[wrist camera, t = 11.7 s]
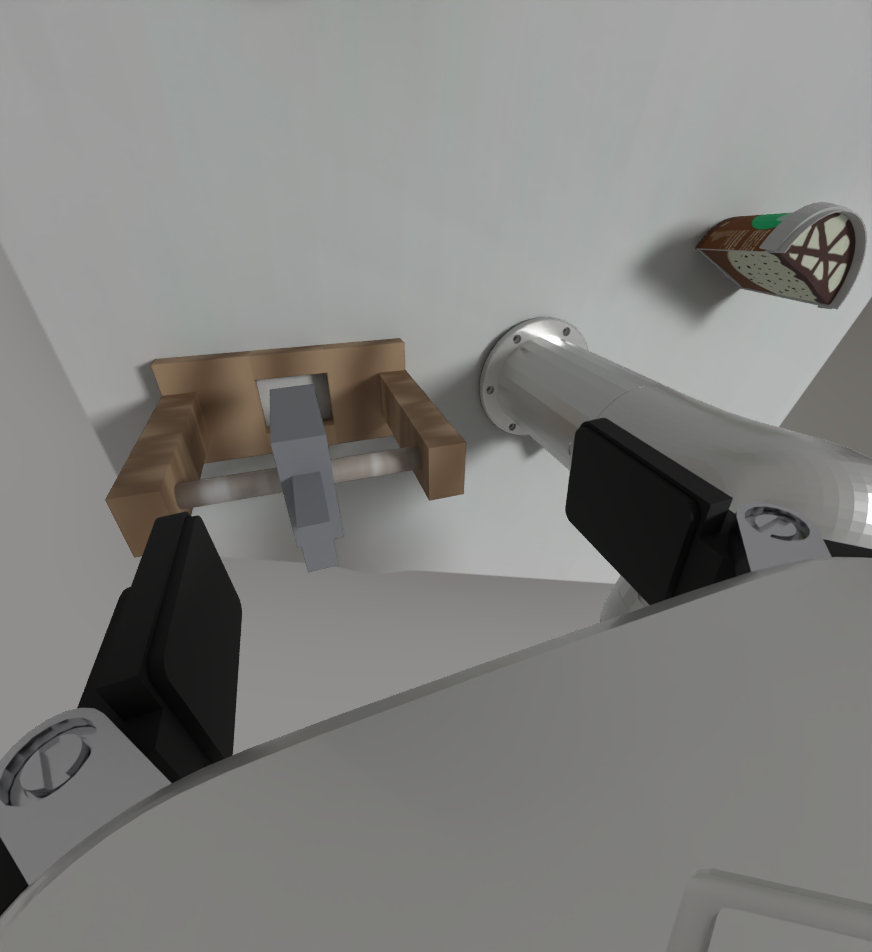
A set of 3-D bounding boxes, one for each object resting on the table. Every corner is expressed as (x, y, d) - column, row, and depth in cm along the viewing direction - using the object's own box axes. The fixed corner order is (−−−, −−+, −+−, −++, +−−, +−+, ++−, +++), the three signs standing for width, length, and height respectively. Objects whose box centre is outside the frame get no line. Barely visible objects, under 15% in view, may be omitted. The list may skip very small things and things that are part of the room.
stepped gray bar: (328, 472, 35) (356, 591, 24) (291, 479, 35) (302, 605, 24) (312, 383, 31) (337, 480, 20) (269, 389, 30) (271, 492, 20)
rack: (400, 338, 39) (467, 406, 26) (404, 427, 44) (462, 522, 31) (154, 359, 34) (83, 457, 21) (189, 457, 39) (150, 588, 26)
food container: (785, 239, 47) (891, 246, 39) (747, 294, 50) (840, 311, 42) (727, 176, 41) (838, 169, 33) (687, 241, 44) (781, 249, 36)
